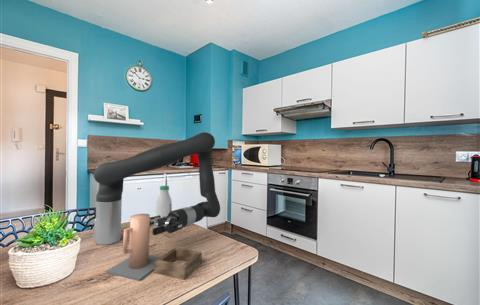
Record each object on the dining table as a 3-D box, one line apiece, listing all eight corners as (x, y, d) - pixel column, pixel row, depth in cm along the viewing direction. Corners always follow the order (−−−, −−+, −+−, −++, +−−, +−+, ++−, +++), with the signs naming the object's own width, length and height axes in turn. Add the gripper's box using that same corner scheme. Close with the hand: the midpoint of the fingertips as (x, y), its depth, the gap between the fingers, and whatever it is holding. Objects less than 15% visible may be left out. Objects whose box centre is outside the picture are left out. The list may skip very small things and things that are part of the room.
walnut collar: (154, 272, 68) (154, 261, 68) (174, 256, 78) (174, 247, 78) (184, 279, 65) (184, 268, 65) (201, 262, 75) (202, 252, 75)
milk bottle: (166, 227, 109) (167, 187, 109) (152, 225, 111) (153, 186, 111) (174, 222, 117) (174, 185, 117) (161, 221, 118) (161, 184, 118)
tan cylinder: (141, 258, 76) (143, 212, 76) (152, 262, 73) (153, 215, 73) (117, 268, 69) (119, 218, 69) (128, 274, 66) (129, 221, 66)
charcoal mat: (106, 272, 67) (106, 270, 67) (137, 254, 80) (137, 252, 80) (139, 281, 63) (139, 279, 63) (167, 260, 76) (167, 258, 76)
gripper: (170, 205, 91) (134, 214, 77) (195, 211, 83) (159, 222, 70) (170, 223, 91) (133, 235, 77) (194, 230, 83) (158, 245, 70)
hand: (145, 229), depth 74 cm, fingers open, 8 cm apart
